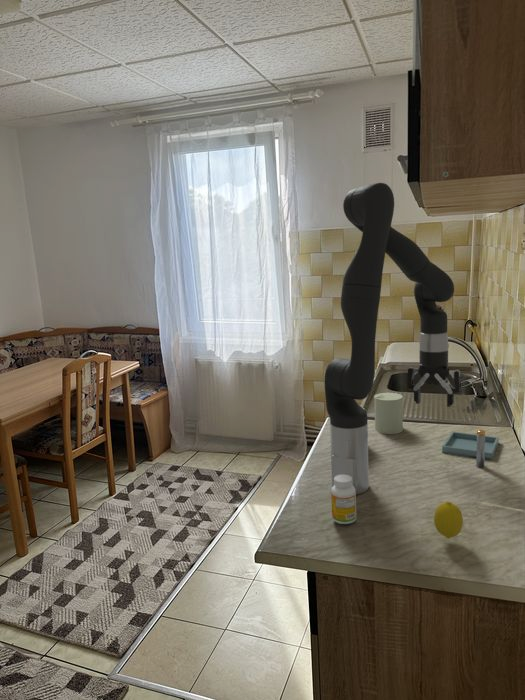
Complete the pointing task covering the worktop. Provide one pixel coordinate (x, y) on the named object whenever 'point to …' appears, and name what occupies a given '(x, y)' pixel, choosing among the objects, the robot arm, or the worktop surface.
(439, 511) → the lemon
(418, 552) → the worktop surface
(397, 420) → the can
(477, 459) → the orange-topped grey cylinder
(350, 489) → the supplement bottle
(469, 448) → the tray
